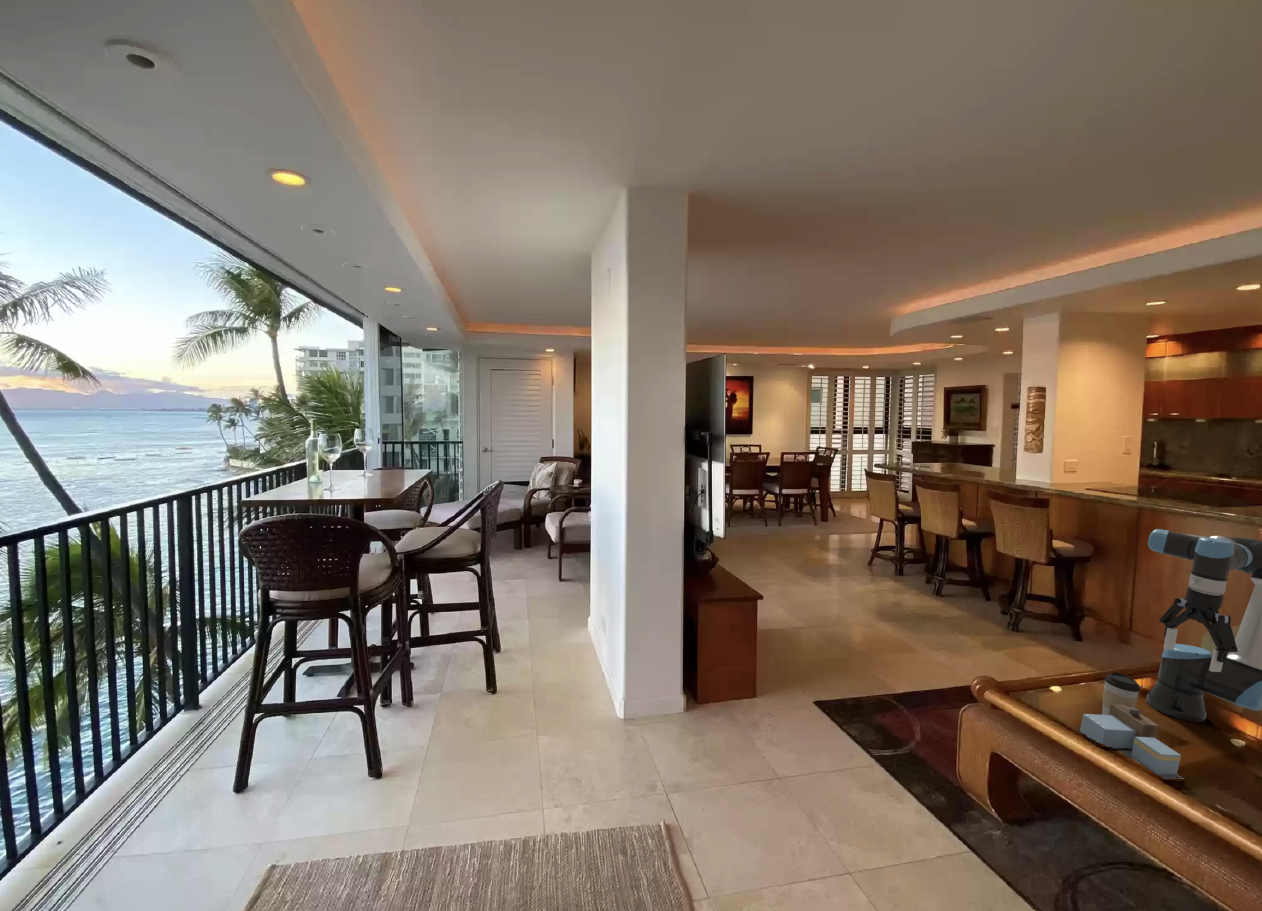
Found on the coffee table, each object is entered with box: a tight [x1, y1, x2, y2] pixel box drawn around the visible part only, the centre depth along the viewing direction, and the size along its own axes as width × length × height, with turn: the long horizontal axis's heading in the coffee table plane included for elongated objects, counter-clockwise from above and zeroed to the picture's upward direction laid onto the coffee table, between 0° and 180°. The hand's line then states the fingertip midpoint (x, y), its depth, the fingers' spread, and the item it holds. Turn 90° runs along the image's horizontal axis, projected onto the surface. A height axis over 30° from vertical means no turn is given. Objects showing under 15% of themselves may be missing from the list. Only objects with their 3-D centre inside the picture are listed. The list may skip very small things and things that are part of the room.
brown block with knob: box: [1109, 704, 1160, 739], centre depth 177 cm, size 5×11×11 cm, turn 2°
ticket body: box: [1079, 713, 1136, 750], centre depth 177 cm, size 14×8×6 cm, turn 92°
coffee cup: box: [1101, 671, 1141, 715], centre depth 189 cm, size 9×9×15 cm
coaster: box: [1117, 749, 1184, 779], centre depth 165 cm, size 12×12×1 cm
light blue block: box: [1131, 737, 1182, 774], centre depth 165 cm, size 6×8×6 cm
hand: (1190, 659), depth 168 cm, fingers open, 13 cm apart
